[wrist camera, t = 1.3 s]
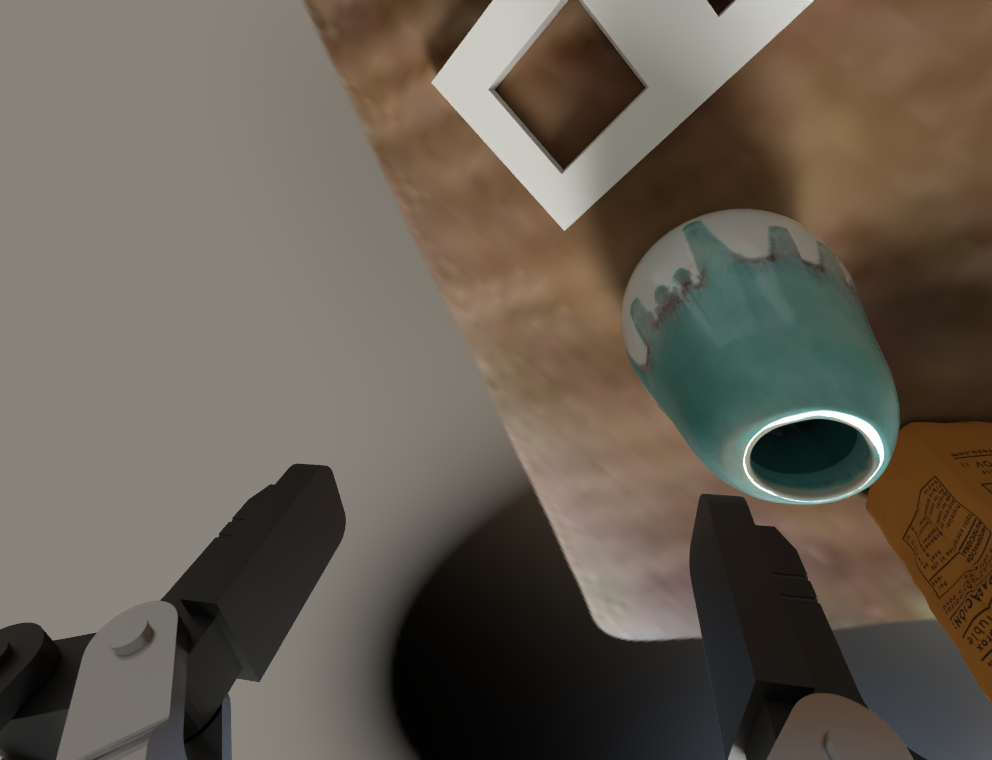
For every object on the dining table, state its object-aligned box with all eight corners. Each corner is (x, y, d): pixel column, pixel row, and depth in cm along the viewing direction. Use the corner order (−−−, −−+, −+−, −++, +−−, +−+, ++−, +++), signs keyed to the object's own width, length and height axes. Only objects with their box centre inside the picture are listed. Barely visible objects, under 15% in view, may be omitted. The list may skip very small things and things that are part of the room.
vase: (660, 391, 36) (708, 608, 21) (587, 256, 32) (579, 400, 17) (834, 323, 31) (1061, 536, 16) (774, 154, 27) (1000, 225, 12)
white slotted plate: (764, -342, 19) (780, -385, 17) (902, -90, 22) (928, -106, 20) (441, 83, 28) (431, 82, 27) (566, 223, 31) (564, 230, 29)
